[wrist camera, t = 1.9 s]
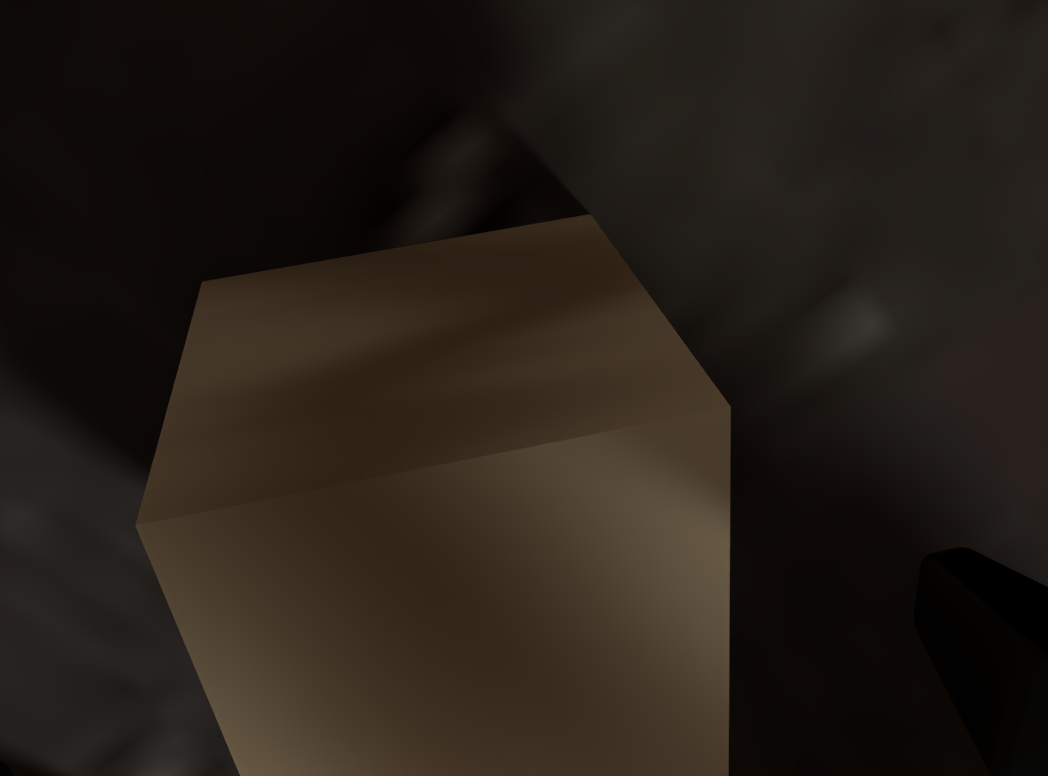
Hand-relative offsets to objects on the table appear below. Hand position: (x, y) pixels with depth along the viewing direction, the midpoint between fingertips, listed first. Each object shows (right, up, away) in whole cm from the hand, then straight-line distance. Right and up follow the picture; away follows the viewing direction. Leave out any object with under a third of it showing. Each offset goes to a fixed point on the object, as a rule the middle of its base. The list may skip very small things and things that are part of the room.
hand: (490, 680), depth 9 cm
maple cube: (-1, +3, +4) cm, 5 cm away
